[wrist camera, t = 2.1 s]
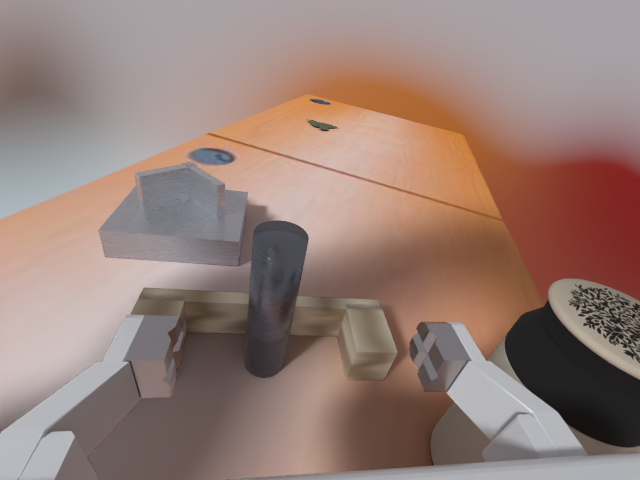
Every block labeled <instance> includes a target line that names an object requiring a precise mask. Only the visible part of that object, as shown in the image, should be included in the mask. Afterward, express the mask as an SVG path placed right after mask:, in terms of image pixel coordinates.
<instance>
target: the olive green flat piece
mask: <svg viewBox="0 0 640 480" xmlns="http://www.w3.org/2000/svg"><path fill="white" fill-rule="evenodd" d="M307 120H308V119H307ZM308 122H309V123H311V124H312V125H313V126H317V127H319V128H320V129H324V130H329V129H328V128H337V127H335V126H332V125H329V124H325V123H319V122H316V121H314V120H310V121H308Z"/></svg>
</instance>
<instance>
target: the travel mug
mask: <svg viewBox="0 0 640 480" xmlns="http://www.w3.org/2000/svg"><path fill="white" fill-rule="evenodd" d="M486 361H491V362H492V363H493V364H495V365H496V366H497V367H499V368H500V369H501V370H503V371H504V372H505V373H506V374H508V375H509V376H510V377H512V378H513V379H514V380H516V381H517V382H518V383H520V384H521V385H522V386H524V387H525V388H526V389H528V390H529V391H530V392H532V393H533V394H534V395H536V396H537V397H538V398H540V399H541V400H542V401H544V402H545V403H546V404H548V405H549V406H550V407H552V408H553V409H554V410H556V411H557V412H558V413H559V415H560V416H561V417H562V419H563V420H564V422H565V423H566V424H567V426H568V427H569V429H570V430H571V431H572V433H573V434H574V436H575V437H576V438H577V440H578V441H579V443H580V444H581V445H582V447H583V448H584V450H585V451H586V452H587V454H588V455H600V454H615V453H630V452H632V451H634V450H635V449H637V448H638V447H640V301H638V300H636V299H634V298H632V297H630V296H628V295H626V294H624V293H622V292H619V291H617V290H615V289H612V288H610V287H607V286H604V285H601V284H598V283H595V282H591V281H586V280H581V279H562V280H558V281H556V282H554V283H553V284H552V285H551V286H550V288H549V290H548V301H547V303H546V304H545V306H544V307H542V308H539V309H536V310H533V311H530V312H527V313H525V314H523V315H522V316H521V317H520V318H519V319H518V320H517V322H516V323H515V324H514V326H513V327H512V328H511V329H510V331H509V332H508V333H507V335H506V336H505V337H504V338H503V340H502V341H501V342H500V343H499V345H498V346H497V347H496V349H495V350H494V351H493V352H492V354H491V355H490V356H489V358H488V359H487V360H486ZM490 443H491V440H490V439H489V438H488V437H487V436H486V435H485V434H484V433H483V432H482V431H481V430H480V429H479V428H478V427H477V425H476V424H475V423H474V422H473V421H472V420H471V419H470V418H469V417H468V416H467V415H466V414H465V413H464V411H463V410H462V409H461V408H460V407H459V406H458V405H457V404H456V403H455V402H453V404H452V405H451V406H450V407H449V409H448V410H447V411H446V413H445V414H444V415H443V416H442V418H441V419H440V420H439V422H438V423H437V424H436V426H435V427H434V429H433V431H432V435H431V441H430V449H431V456H432V460H433V464H434V466H436V465H450V464H465V463H480V462H486V461H485V459H484V457H483V455H482V452H483V450H484V449H485V448H486V447H487V446H488V445H489V444H490Z"/></svg>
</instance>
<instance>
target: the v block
mask: <svg viewBox="0 0 640 480" xmlns="http://www.w3.org/2000/svg"><path fill="white" fill-rule="evenodd" d="M134 174H135V180H136V187H135V188H134V189H133V190H132V191H131V192H130V194H129V195H128V196H127V197H126V198H125V199H124V201H123V202H122V203H121V204H120V205H119V207H118V208H117V209H116V210H115V211H114V212H113V214H112V215H111V216H110V217H109V218H108V219H107V221H106V222H105V223H104V224H103V225H102V226H101V228H100V229H99V230H98V231H99V235H100V239H101V243H102V247H103V251H104V255H105V257H111V258H125V259H140V260H154V261H169V262H184V263H198V264H213V265H228V266H238V263H239V257H240V251H241V244H242V238H243V232H244V226H245V220H246V213H247V197H248V192H241V191H232V190H225V183H223V182H221V181H220V180H218V179H216V178H215V177H213V176H211V175H210V174H208V173H207V172H205V171H203V170H202V169H200V168H198V167H197V165H196V164H194V163H193V162H192V163H190V162H187V163H182V164H181V165H176V166H171V167H165V168H160V169H154V170H149V171H144V172H138V173H134Z"/></svg>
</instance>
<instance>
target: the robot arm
mask: <svg viewBox="0 0 640 480" xmlns="http://www.w3.org/2000/svg"><path fill="white" fill-rule="evenodd" d="M182 325H183V322H182V317H177V316H156V315H128V316H127V317H126V318H125V319H124V321H123V322H122V324H121V326H120V328H119V330H118V332H117V334H116V336H115V338H114V340H113V342H112V344H111V346H110V348H109V349H108V351H107V353H106V355H105V357H104V359H103V361H101V362H95V363H94V364H93V365H91V366H90V367H89V368H87V369H86V370H85V371H83V372H82V373H80V374H79V375H78V376H76V377H75V378H74V379H72V380H71V381H70V382H68V383H67V384H66V385H64V386H63V387H61V388H60V389H59V390H57V391H56V392H55V393H53V394H52V395H51V396H49V397H48V398H47V399H45V400H44V401H42V402H41V403H40V404H38V405H37V406H36V407H34V408H33V409H32V410H30V411H29V412H28V413H26V414H25V415H23V416H22V417H21V418H19V419H18V420H17V421H15V422H14V423H13V424H11V425H10V426H9V427H7V428H6V429H4V430H3V431H2V432H1V433H0V480H98V476H97V474H96V472H95V470H94V469H93V467H92V465H91V463H90V462H89V460H88V458H87V457H88V456H89V455H90V454H91V453H92V452H93V451H94V450H95V449H96V448H97V447H98V445H99V444H100V443H101V442H102V441H103V440H104V439H105V438H106V437H107V436H108V435H109V434H110V433H111V431H112V430H113V429H114V428H115V427H116V426H117V425H118V424H119V423H120V422H121V421H122V420H123V419H124V418H125V416H126V415H127V414H128V413H129V412H130V411H131V410H132V409H133V408H134V407H135V406H136V405H137V404H138V402H139V401H140V398H161V397H171V395H172V392H173V388H174V385H175V382H176V378H177V373H176V367H177V366H178V365H179V364H180V363H181V360H182V357H183V351H184V341H185V338H184V333H183V332H182V331H181V329H182ZM416 329H417V331H418V333H417V334H415V335H414V336H413V337H412V339H411V341H410V346H409V351H410V356H411V359H412V362H413V363H414V364H415V365H416V366H417V367H418V368H419V370H418V377H419V379H420V382H421V384H422V387H423V389H424V392H447V394H448V395H449V396H450V398H451V399H452V400H453V401H454V402H455V403H456V404H457V405H458V406H459V407H460V408H461V409H462V410H463V411H464V413H465V414H466V415H467V416H468V417H469V418H470V419H471V420H472V421H473V422H474V423H475V424H476V425H477V427H478V428H479V429H480V430H481V431H482V432H483V433H484V434H485V435H486V436H487V437H488V438H489V439H490V440H491V443H490V444H489V445H488V446H487V447H486V448H485V449H484V450H483V452H482V455H483V457H484V459H485V461H486V462H480V463H465V464H450V465H436V466H421V467H406V468H391V469H376V470H361V471H346V472H331V473H316V474H301V475H286V476H271V477H256V478H241V479H227V480H640V452H630V453H615V454H600V455H588V454H587V452H586V451H585V450H584V448H583V447H582V445H581V444H580V443H579V441H578V440H577V438H576V437H575V436H574V434H573V433H572V431H571V430H570V429H569V427H568V426H567V424H566V423H565V422H564V420H563V419H562V417H561V416H560V415H559V413H558V412H557V411H556V410H554V409H553V408H552V407H550V406H549V405H548V404H546V403H545V402H544V401H542V400H541V399H540V398H538V397H537V396H536V395H534V394H533V393H532V392H530V391H529V390H528V389H526V388H525V387H524V386H522V385H521V384H520V383H518V382H517V381H516V380H514V379H513V378H512V377H510V376H509V375H508V374H506V373H505V372H504V371H503V370H501V369H500V368H499V367H497V366H496V365H495V364H493V363H492V362H491V361H486V360H485V358H484V357H483V355H482V353H481V352H480V350H479V349H478V347H477V345H476V344H475V342H474V340H473V339H472V337H471V336H470V334H469V332H468V331H467V329H466V328H465V326H464V325H463V324H462V323H461V322H421V323H419V324H418V326H417V328H416Z"/></svg>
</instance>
